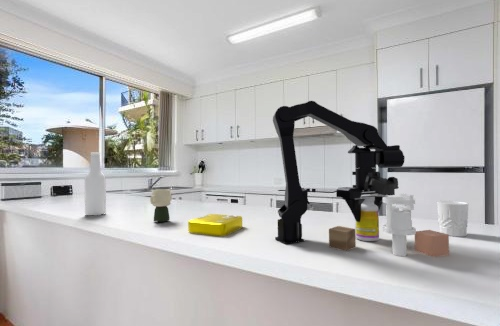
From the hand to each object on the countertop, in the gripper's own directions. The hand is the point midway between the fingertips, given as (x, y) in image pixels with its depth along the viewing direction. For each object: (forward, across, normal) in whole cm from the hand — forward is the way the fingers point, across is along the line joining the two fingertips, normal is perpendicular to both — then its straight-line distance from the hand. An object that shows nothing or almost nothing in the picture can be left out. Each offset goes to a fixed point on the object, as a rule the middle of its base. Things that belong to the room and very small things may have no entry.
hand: (366, 220), depth 79 cm
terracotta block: (+6, +4, -16) cm, 17 cm away
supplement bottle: (+6, 0, 0) cm, 6 cm away
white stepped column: (+6, -4, -13) cm, 15 cm away
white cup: (+6, +28, -9) cm, 30 cm away
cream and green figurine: (+6, -51, +58) cm, 77 cm away
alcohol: (+6, -77, +92) cm, 120 cm away
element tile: (+6, -36, +34) cm, 50 cm away
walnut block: (+6, -12, -2) cm, 13 cm away
